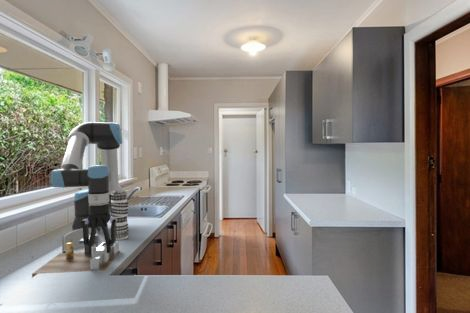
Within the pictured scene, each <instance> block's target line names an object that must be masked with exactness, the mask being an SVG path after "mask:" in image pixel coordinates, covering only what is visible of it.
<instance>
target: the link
mask: <svg viewBox="0 0 470 313" xmlns="http://www.w3.org/2000/svg"><path fill="white" fill-rule="evenodd" d="M105 245H106V242H105V241H103V242H100V244H98V247H97V248H95V249H94V250H93V256H92V257H91V258H90V270H97V271H100V270H99V269H100V268H101V267H102V266H103V265H104V264H105V263H106V262H104V246H105ZM119 251H120V241H115V242H114V243H113V244H111V252H110V253H109V257H115V256H116V254H117V253H118V252H119ZM119 253H120V252H119ZM119 253H118V254H119ZM116 257H117V256H116ZM116 257H115V258H116Z"/></svg>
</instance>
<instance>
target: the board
mask: <svg viewBox="0 0 470 313" xmlns="http://www.w3.org/2000/svg"><path fill="white" fill-rule="evenodd" d="M120 252H121V250H119V252H118V253H117V254H116V256H115V257H109V260H108V261H107V262H106V263H105V264H104V265H103V266H102V267H101V268H100V269H99V270H90V258H91V257H92V254H85V251H83V252H82V251H81V252H74V258H72V259H66V252H61V253H60V252H59V253H58V254H57V255H56V256H54V257H52V258H51V259H49V261H47V262H46V263H45V264H43V265H42V266H41V267H39V268H38V269H36V270H35V271H34V272H32V273H31V278H33V277H36V276H37V275H39V274H54V273H55V274H56V273H73V272H94V271H95V272H96V271H106V270H107V268H108V267H109V266H110V265H111V264H112V262H113V261H115V260H114V259H115V258H116V257H117V256H118V255H119V254H120Z"/></svg>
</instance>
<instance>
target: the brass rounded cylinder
mask: <svg viewBox="0 0 470 313" xmlns="http://www.w3.org/2000/svg"><path fill="white" fill-rule="evenodd" d="M74 250H75V249H74V247H73V242H68V243H66V251H65V253H66V259H72V258H74V253H75V252H74Z"/></svg>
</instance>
